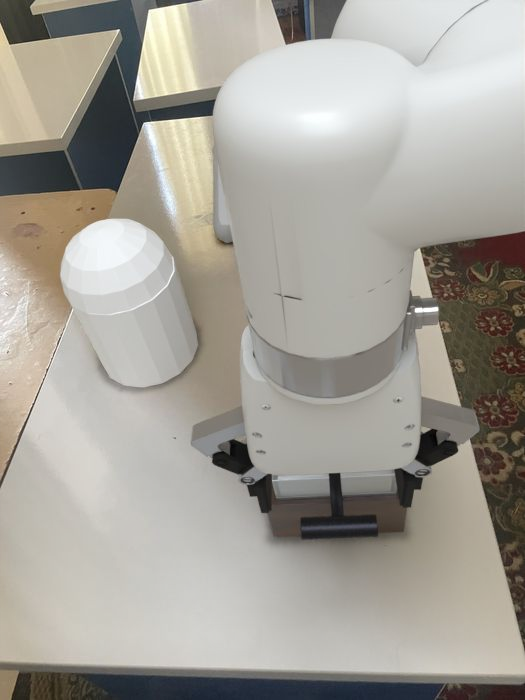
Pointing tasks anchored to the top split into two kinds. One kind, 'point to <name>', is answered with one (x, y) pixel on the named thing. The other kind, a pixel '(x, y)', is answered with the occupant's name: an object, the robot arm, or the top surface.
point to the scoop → (336, 501)
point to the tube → (219, 205)
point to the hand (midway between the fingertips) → (333, 491)
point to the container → (129, 301)
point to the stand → (290, 512)
